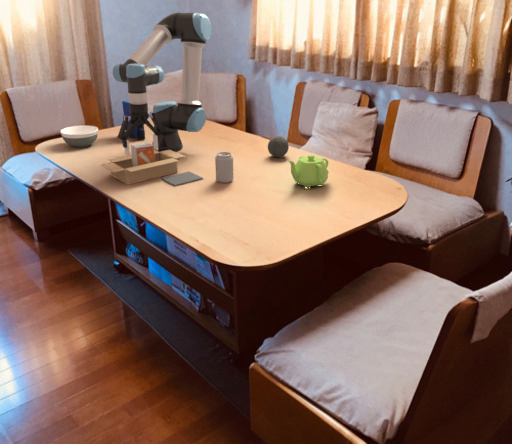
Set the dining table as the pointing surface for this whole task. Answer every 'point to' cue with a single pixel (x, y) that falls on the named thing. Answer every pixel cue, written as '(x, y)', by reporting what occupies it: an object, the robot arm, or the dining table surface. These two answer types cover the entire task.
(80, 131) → the bowl
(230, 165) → the can
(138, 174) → the carton
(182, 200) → the dining table surface
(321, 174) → the teapot
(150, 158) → the small box
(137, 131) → the book
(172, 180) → the mat
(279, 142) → the decorative ball
